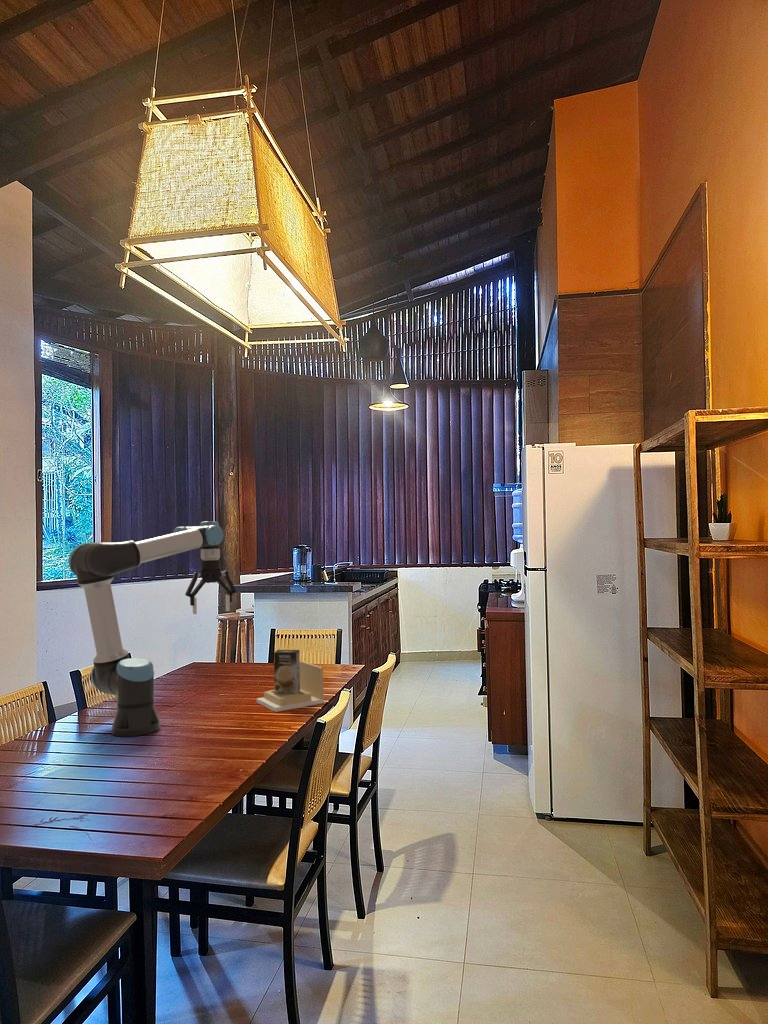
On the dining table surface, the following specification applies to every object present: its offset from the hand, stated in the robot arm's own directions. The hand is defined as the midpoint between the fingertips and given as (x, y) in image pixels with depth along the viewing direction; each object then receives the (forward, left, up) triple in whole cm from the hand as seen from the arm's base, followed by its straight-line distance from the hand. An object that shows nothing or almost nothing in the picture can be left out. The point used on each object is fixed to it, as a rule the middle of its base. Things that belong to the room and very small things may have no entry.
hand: (211, 612), depth 261 cm
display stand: (+21, -25, -35) cm, 48 cm away
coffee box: (+21, -25, -31) cm, 45 cm away
